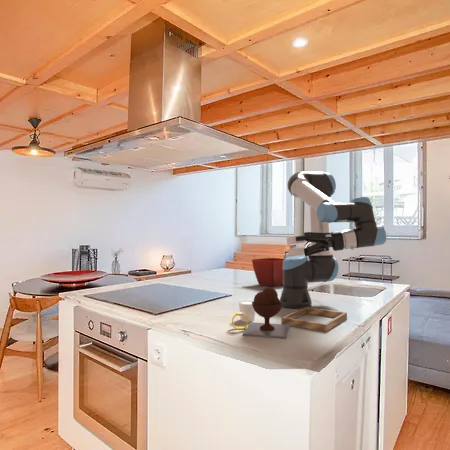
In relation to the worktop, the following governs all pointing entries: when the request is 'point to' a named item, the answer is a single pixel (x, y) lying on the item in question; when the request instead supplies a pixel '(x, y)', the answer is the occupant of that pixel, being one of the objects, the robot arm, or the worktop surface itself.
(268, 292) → the ice cream bowl
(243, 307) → the white cup
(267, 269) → the plant pot
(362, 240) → the robot arm
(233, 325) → the watch
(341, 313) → the wooden picture frame
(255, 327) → the plate
